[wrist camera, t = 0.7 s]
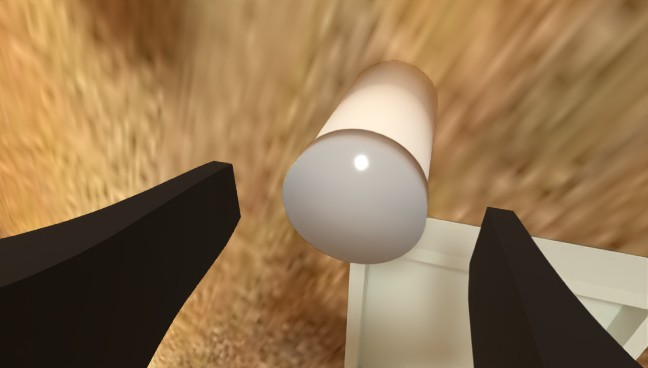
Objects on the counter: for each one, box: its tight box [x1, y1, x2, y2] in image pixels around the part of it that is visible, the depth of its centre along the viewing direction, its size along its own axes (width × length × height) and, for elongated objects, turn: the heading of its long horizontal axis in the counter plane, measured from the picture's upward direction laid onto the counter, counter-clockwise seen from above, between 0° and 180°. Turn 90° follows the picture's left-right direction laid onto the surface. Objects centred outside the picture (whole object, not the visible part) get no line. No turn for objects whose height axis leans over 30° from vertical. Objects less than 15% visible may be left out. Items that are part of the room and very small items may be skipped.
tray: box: [344, 218, 648, 368], centre depth 22 cm, size 14×15×2 cm
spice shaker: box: [283, 61, 438, 264], centre depth 14 cm, size 4×4×8 cm
